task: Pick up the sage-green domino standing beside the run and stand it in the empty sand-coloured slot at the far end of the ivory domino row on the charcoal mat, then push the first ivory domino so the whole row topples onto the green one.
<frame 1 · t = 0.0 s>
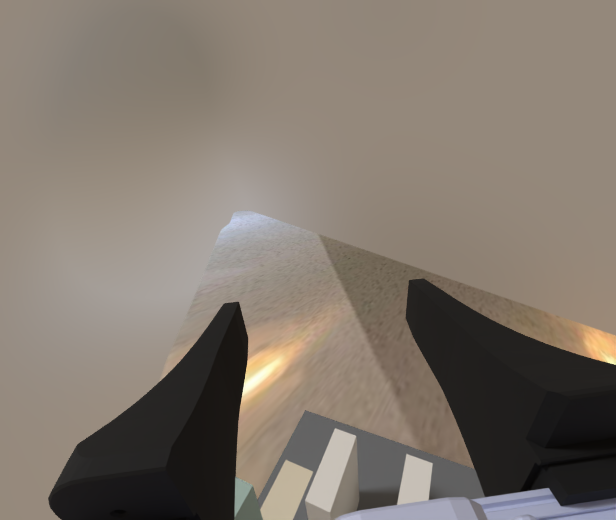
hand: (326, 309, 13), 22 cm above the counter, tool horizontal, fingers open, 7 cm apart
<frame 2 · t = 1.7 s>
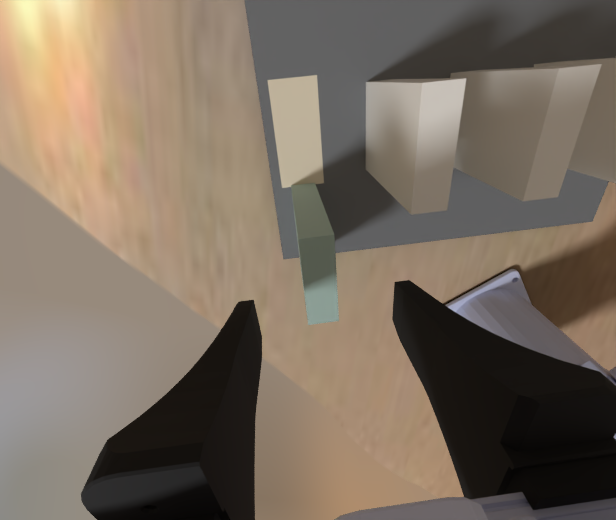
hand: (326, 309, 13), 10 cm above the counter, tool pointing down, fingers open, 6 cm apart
mat: (454, 117, 20), on the counter
domino 2: (535, 109, 19), resting on mat
domino 4: (378, 127, 19), resting on mat
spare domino: (306, 219, 22), resting on mat
domino 3: (457, 118, 19), resting on mat
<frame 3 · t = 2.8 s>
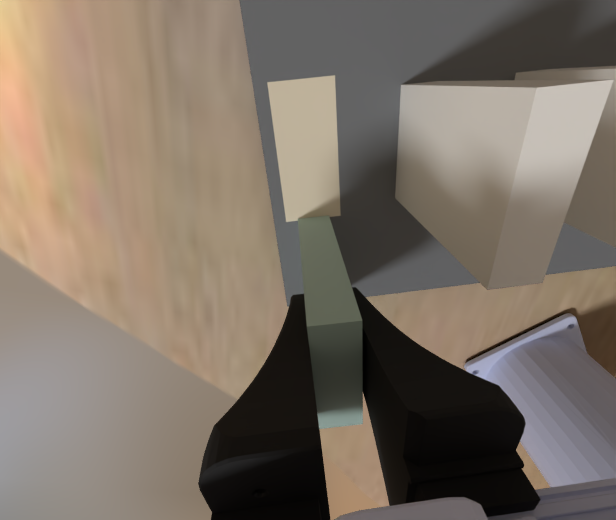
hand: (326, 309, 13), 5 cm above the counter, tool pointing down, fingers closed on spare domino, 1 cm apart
mat: (513, 131, 15), on the counter
domino 4: (414, 144, 14), resting on mat
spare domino: (316, 259, 17), resting on mat, touching gripper
domino 3: (519, 132, 15), resting on mat
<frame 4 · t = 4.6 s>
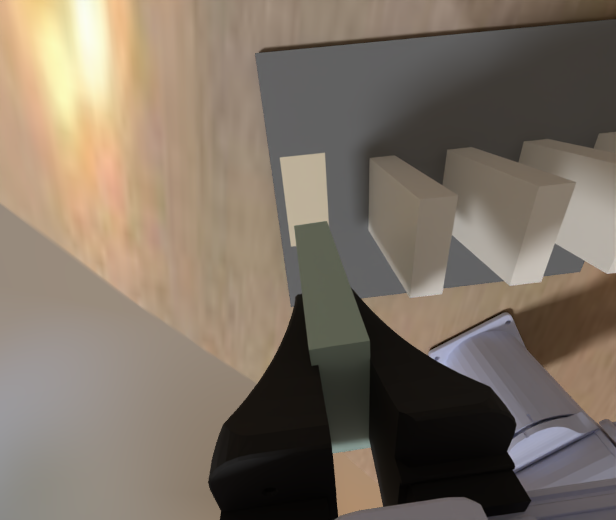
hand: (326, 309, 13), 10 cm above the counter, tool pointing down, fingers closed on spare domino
mat: (450, 185, 21), on the counter
domino 2: (525, 178, 21), resting on mat
domino 4: (380, 194, 21), resting on mat
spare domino: (315, 267, 16), point 6 cm above the counter, touching gripper
domino 1: (596, 171, 21), resting on mat
domino 3: (453, 186, 21), resting on mat
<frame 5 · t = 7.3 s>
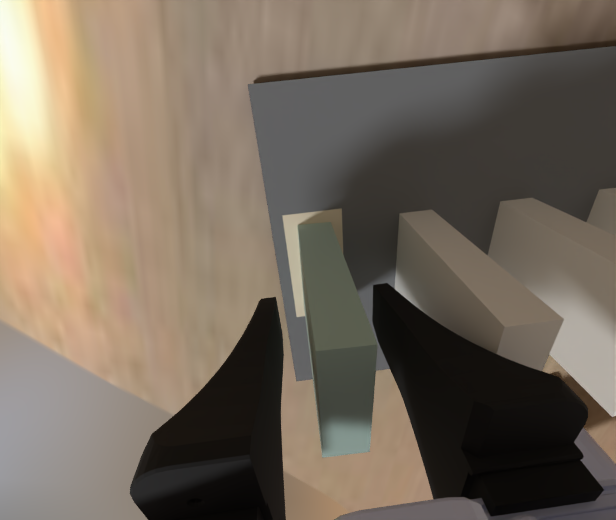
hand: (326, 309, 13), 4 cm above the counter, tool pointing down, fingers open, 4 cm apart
mat: (499, 241, 17), on the counter
domino 2: (595, 233, 17), resting on mat
domino 4: (411, 256, 16), resting on mat
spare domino: (316, 267, 16), resting on mat
domino 3: (504, 244, 16), resting on mat
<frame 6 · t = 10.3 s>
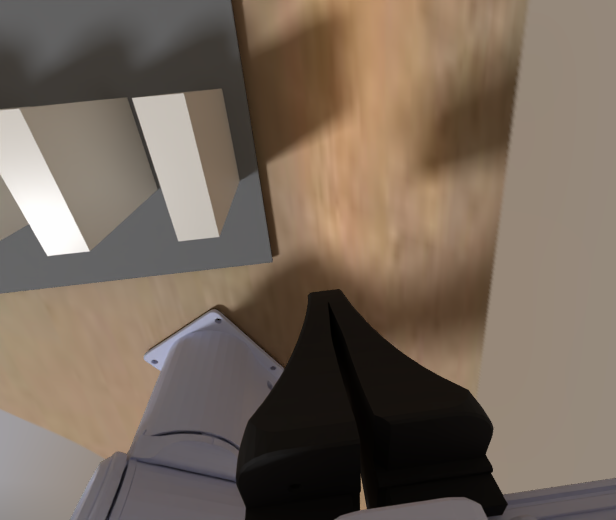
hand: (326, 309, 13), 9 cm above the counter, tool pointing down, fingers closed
mat: (43, 155, 18), on the counter
domino 2: (129, 148, 18), resting on mat
domino 1: (217, 139, 18), resting on mat
domino 3: (38, 157, 17), resting on mat
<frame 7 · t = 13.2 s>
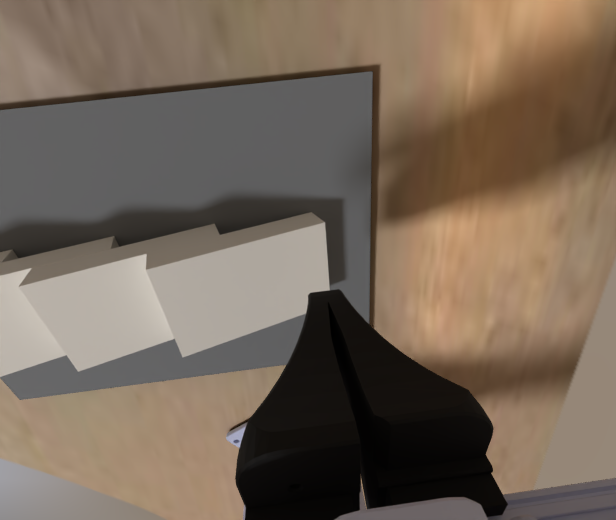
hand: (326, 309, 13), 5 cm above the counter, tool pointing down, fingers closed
mat: (158, 269, 17), on the counter
domino 2: (228, 271, 17), point 1 cm above the counter, tilted 72°, touching domino 1, domino 3, mat
domino 1: (321, 260, 17), point 1 cm above the counter, tilted 71°, touching domino 2, mat
domino 3: (132, 283, 16), point 1 cm above the counter, tilted 71°, touching domino 2, domino 4, mat
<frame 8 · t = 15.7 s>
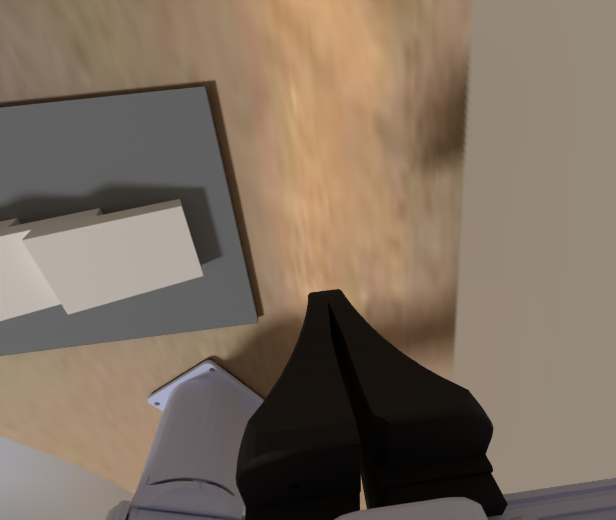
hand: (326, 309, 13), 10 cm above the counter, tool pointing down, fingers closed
mat: (61, 247, 21), on the counter
domino 2: (114, 247, 20), point 1 cm above the counter, tilted 72°, touching domino 1, domino 3, mat
domino 1: (191, 238, 20), point 1 cm above the counter, tilted 71°, touching domino 2, mat
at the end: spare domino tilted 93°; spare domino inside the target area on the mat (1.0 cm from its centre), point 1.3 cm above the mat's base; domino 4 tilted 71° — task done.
